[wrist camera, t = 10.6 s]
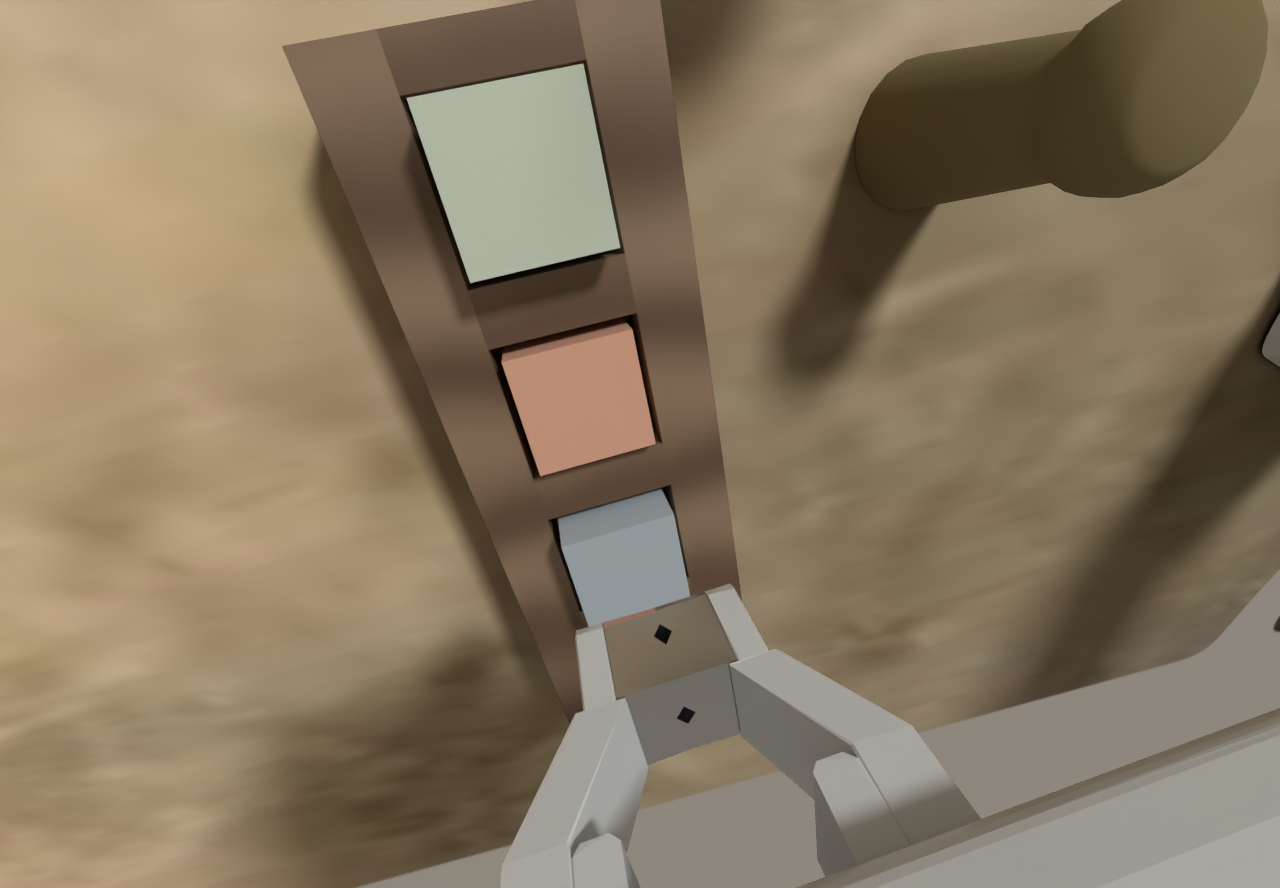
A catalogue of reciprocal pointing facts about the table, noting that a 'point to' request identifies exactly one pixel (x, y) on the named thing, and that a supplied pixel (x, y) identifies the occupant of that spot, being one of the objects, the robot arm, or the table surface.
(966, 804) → the robot arm
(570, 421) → the terracotta key
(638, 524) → the slate key
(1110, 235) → the table surface
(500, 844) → the table surface
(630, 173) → the key frame
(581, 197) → the sage key
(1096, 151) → the cork
